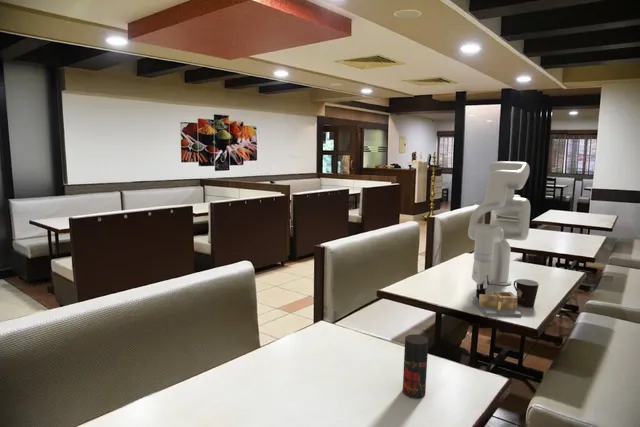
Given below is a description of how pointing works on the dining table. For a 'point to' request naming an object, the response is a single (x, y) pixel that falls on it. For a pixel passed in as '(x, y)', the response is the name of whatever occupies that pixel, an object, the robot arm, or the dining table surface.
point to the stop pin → (499, 307)
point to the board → (493, 311)
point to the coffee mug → (526, 292)
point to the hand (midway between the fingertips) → (480, 298)
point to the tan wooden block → (499, 300)
